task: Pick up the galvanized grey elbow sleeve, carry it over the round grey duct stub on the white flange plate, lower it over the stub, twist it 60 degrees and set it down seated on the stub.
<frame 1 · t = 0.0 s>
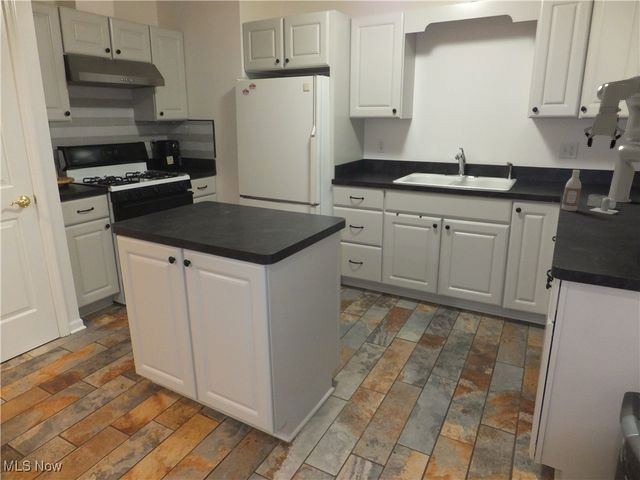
hand: (600, 147, 209), 31 cm above the worktop, tool pointing down, fingers open, 9 cm apart
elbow: (595, 205, 230), on the worktop
bath foam: (568, 210, 218), on the worktop
duct stub: (603, 211, 217), on the worktop
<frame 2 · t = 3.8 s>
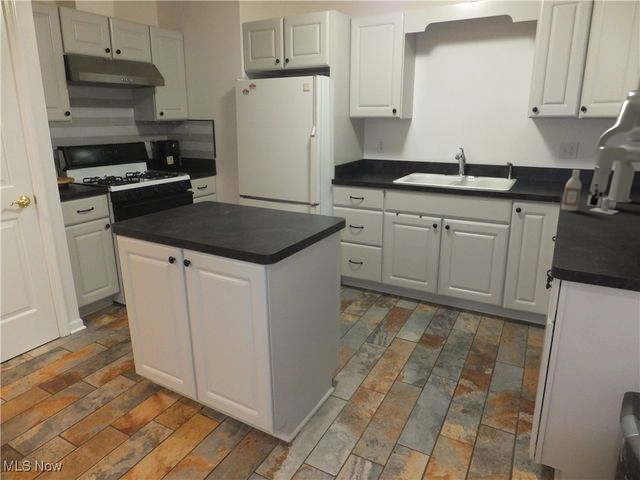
hand: (595, 204, 230), 1 cm above the worktop, tool pointing down, fingers closed on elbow, 6 cm apart
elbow: (595, 205, 230), on the worktop, touching gripper
everything else where it was.
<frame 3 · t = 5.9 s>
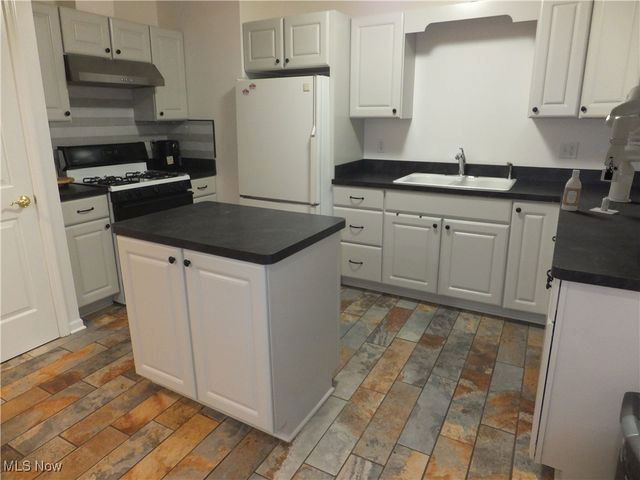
hand: (610, 179, 213), 16 cm above the worktop, tool pointing down, fingers closed on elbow, 6 cm apart
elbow: (609, 180, 213), point 15 cm above the worktop, touching gripper
everything else where it was.
when the fingers open (3 cm above the worktop, at t = 8.5 s): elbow drops 2 cm, resting on duct stub.
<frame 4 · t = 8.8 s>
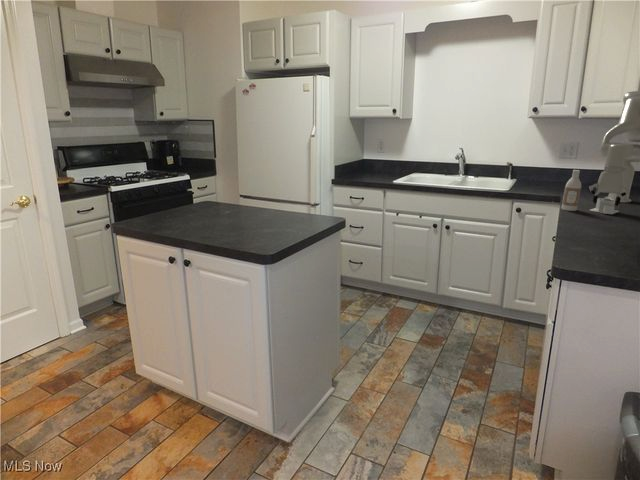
hand: (605, 204, 216), 4 cm above the worktop, tool pointing down, fingers open, 9 cm apart
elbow: (603, 210, 217), resting on duct stub
everything else where it was.
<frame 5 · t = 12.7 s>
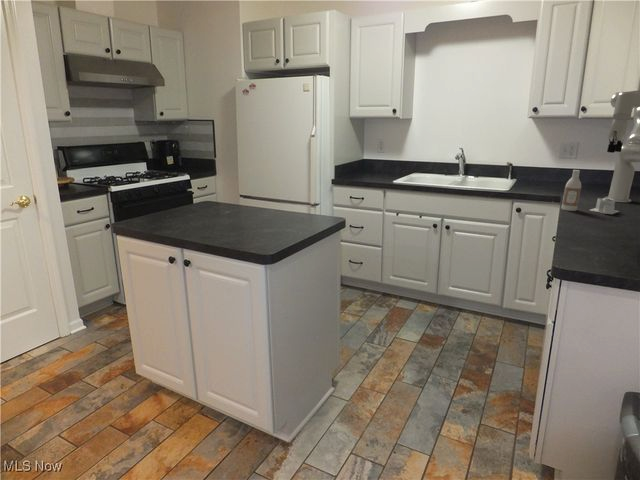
hand: (614, 152, 223), 28 cm above the worktop, tool pointing down, fingers open, 9 cm apart
nothing on the worktop moved.
at the end: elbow 0.3 cm from the duct stub (horizontally); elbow resting on duct stub; the gripper is holding nothing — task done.
